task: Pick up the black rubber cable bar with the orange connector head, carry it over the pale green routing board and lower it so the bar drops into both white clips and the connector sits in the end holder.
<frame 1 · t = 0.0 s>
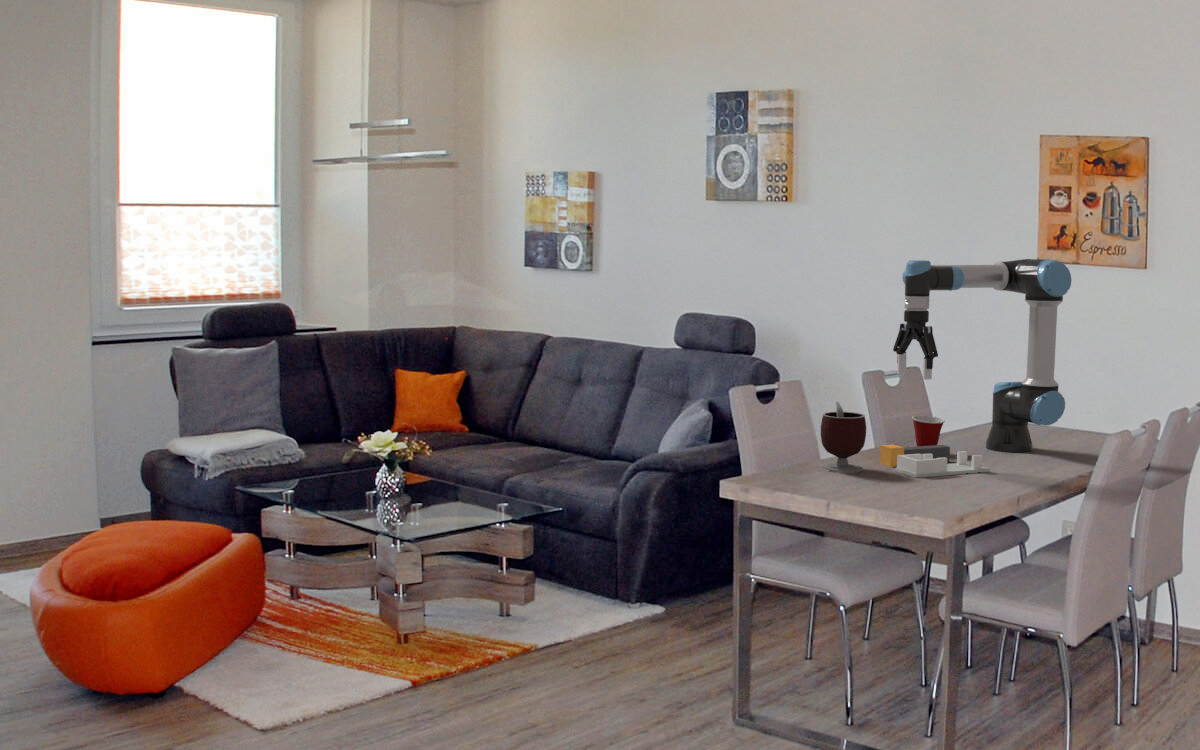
hand: (914, 377, 396), 28 cm above the table, fingers open, 13 cm apart
cable bar: (922, 462, 403), on the table
plastic cup: (927, 453, 420), on the table
route board: (942, 471, 388), on the table
mate gourd: (841, 469, 392), on the table
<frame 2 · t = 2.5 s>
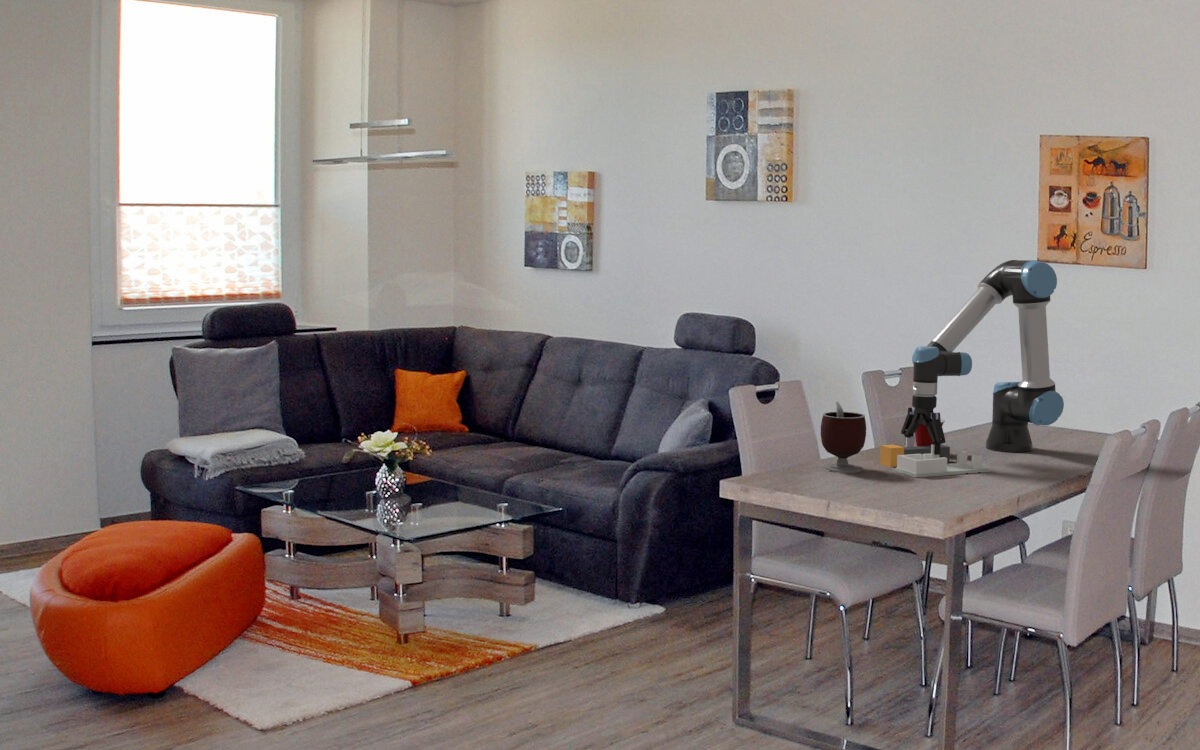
hand: (921, 460, 402), 1 cm above the table, fingers open, 13 cm apart
nothing on the table moved.
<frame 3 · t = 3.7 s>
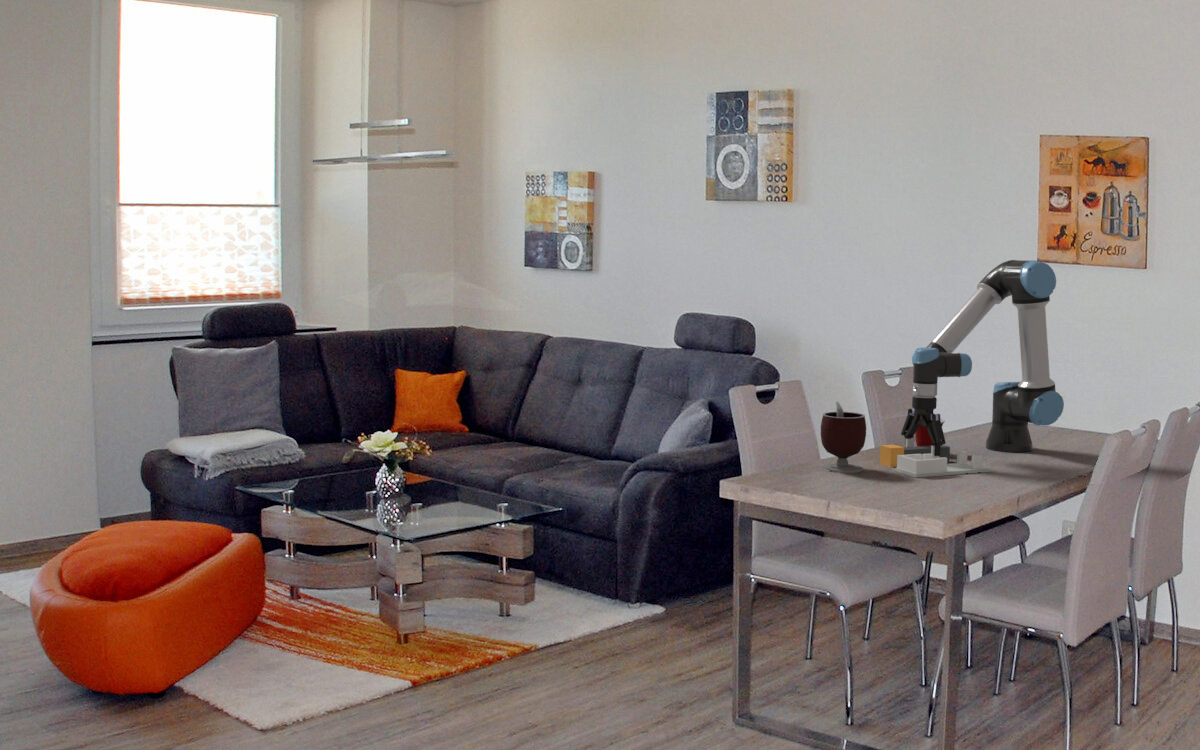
hand: (921, 462, 402), 0 cm above the table, fingers open, 13 cm apart
nothing on the table moved.
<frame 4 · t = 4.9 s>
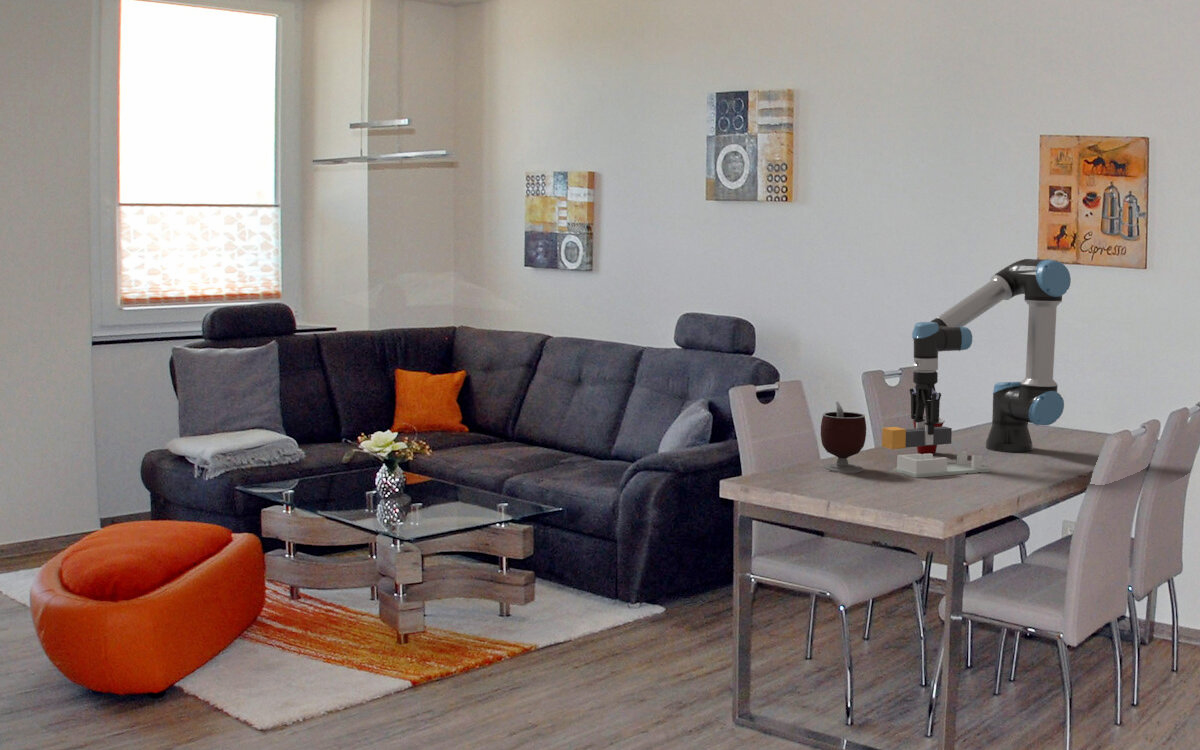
hand: (924, 443, 402), 6 cm above the table, fingers closed on cable bar, 4 cm apart
cable bar: (924, 444, 402), point 6 cm above the table, touching gripper
everything else where it was.
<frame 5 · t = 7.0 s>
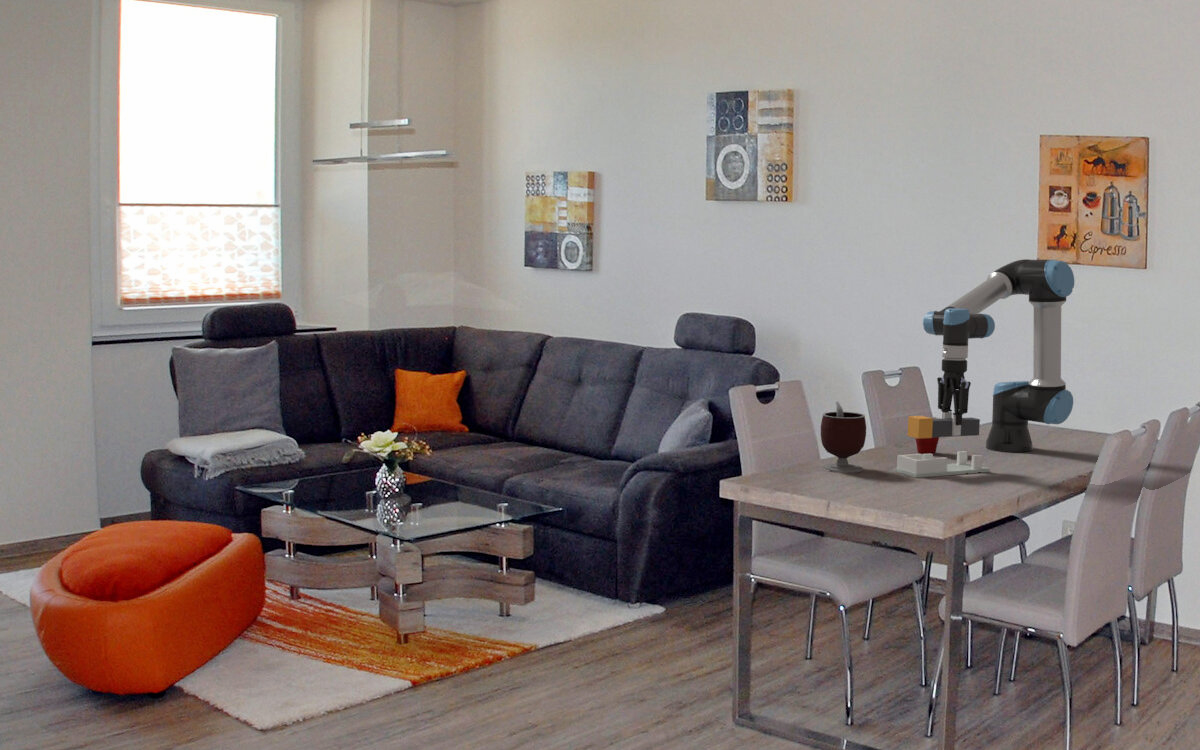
hand: (951, 434, 388), 12 cm above the table, fingers closed on cable bar, 4 cm apart
cable bar: (950, 435, 388), point 11 cm above the table, touching gripper
everything else where it was.
when the fingers open (2 cm above the table, at t = 9.0 s): cable bar stays where it is, resting on route board.
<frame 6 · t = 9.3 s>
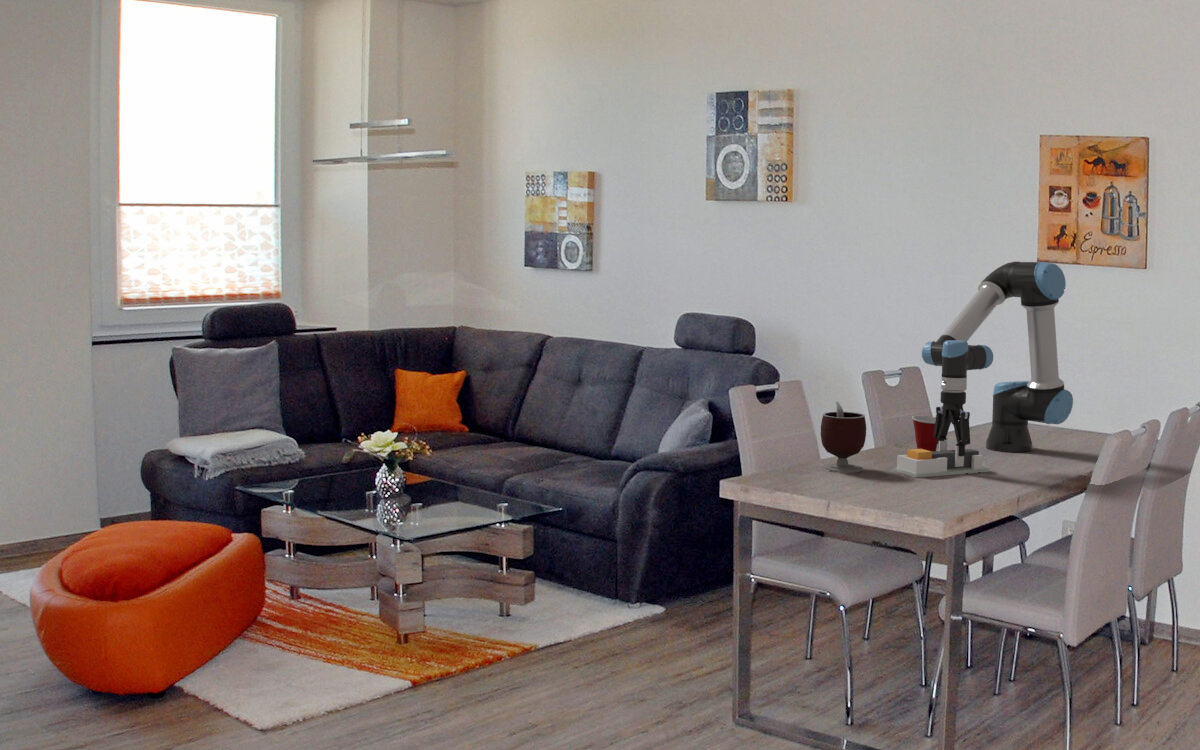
hand: (950, 463, 389), 2 cm above the table, fingers open, 8 cm apart
cable bar: (950, 467, 389), point 1 cm above the table, touching route board
everything else where it was.
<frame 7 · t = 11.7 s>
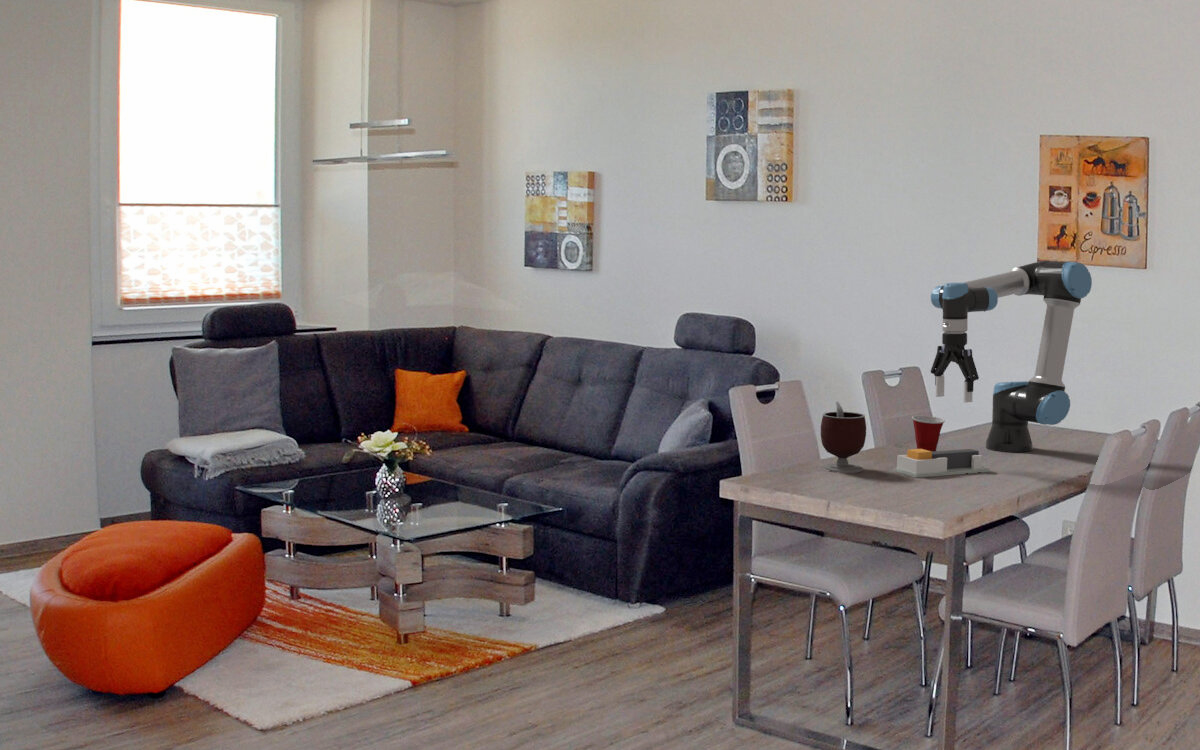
hand: (953, 399, 396), 21 cm above the table, fingers open, 13 cm apart
nothing on the table moved.
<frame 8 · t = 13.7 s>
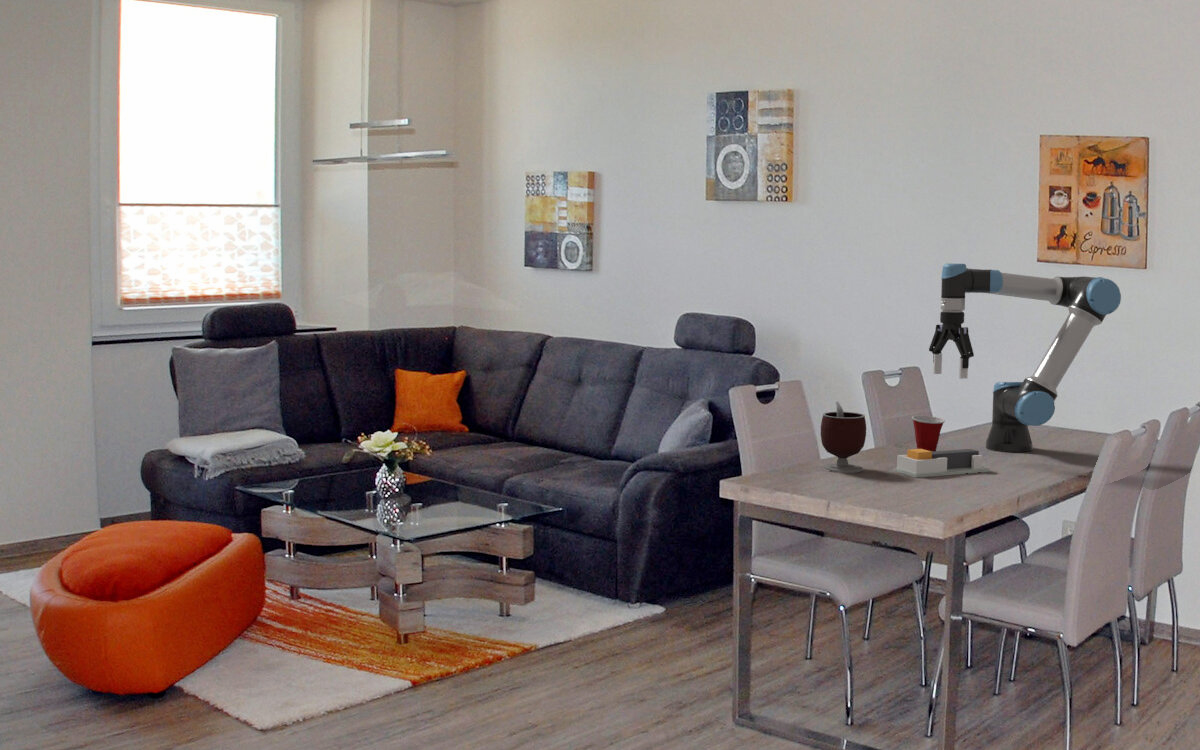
hand: (950, 376, 410), 27 cm above the table, fingers open, 13 cm apart
nothing on the table moved.
at the end: cable bar 0.1 cm from the target spot on the route board, point 1.0 cm above the route board's base; cable bar tilted 0°; the gripper is holding nothing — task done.
